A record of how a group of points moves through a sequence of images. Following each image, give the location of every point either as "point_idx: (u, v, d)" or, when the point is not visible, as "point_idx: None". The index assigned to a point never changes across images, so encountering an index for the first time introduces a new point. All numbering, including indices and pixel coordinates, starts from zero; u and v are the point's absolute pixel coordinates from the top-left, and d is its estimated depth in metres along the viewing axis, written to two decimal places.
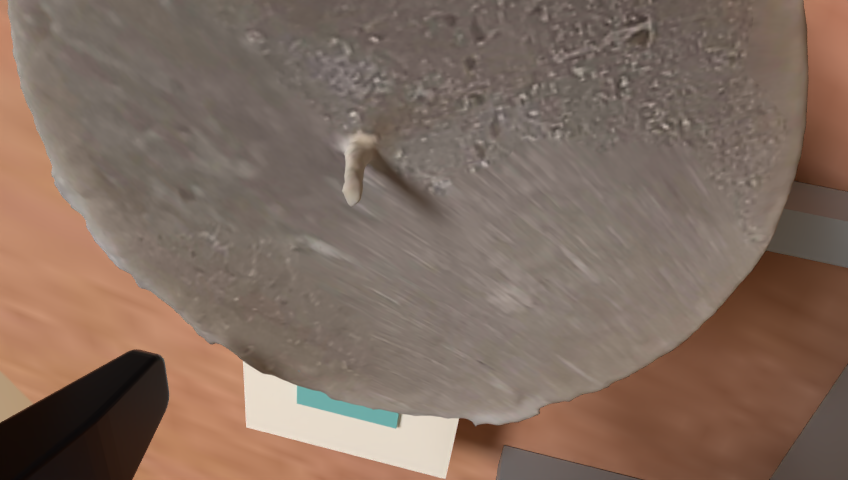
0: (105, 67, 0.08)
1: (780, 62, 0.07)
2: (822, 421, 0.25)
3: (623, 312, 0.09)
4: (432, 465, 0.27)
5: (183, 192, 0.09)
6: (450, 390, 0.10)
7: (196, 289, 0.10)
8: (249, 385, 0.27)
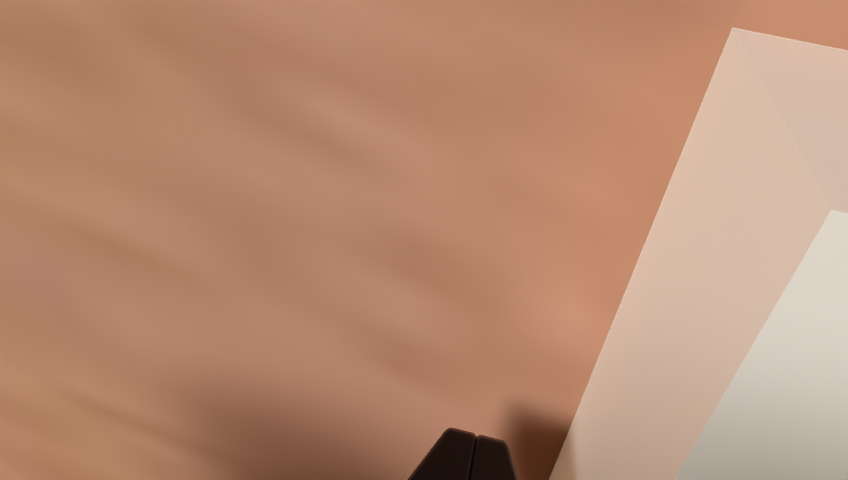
0: None
1: None
2: None
3: None
4: None
5: None
6: None
7: None
8: None
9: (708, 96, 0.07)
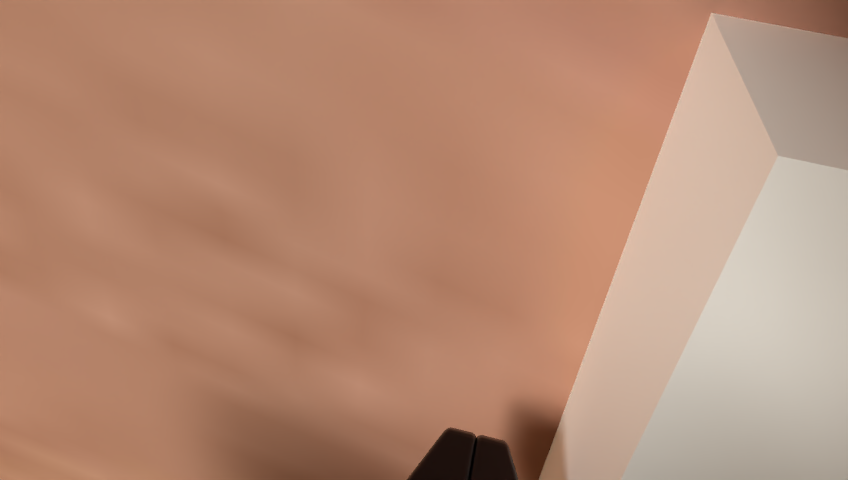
0: None
1: None
2: None
3: None
4: None
5: None
6: None
7: None
8: None
9: None
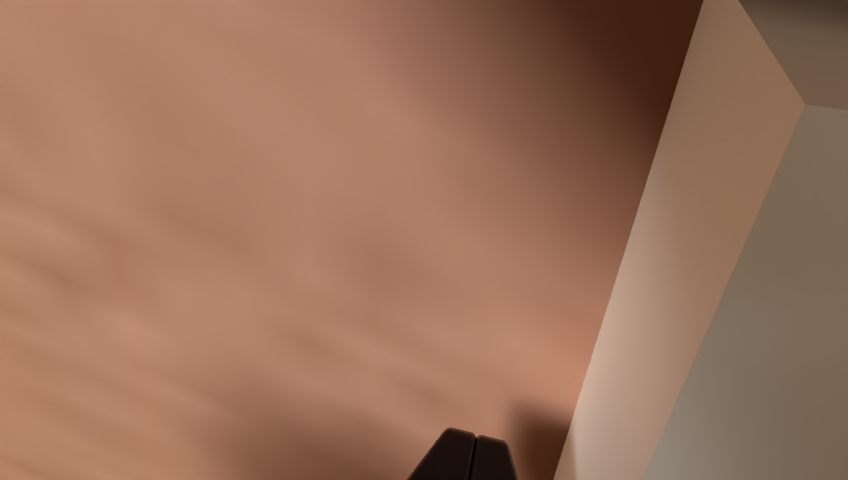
0: None
1: None
2: None
3: None
4: None
5: None
6: None
7: None
8: None
9: (694, 37, 0.07)
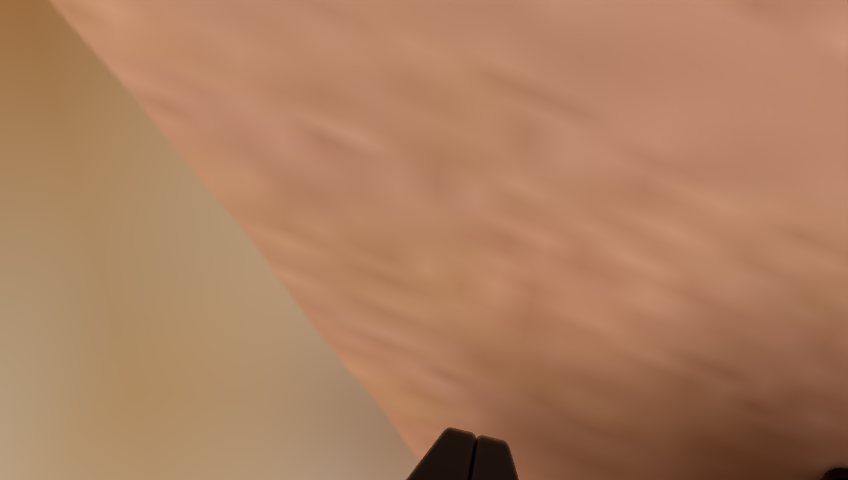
0: None
1: None
2: None
3: None
4: None
5: None
6: None
7: None
8: None
9: None
